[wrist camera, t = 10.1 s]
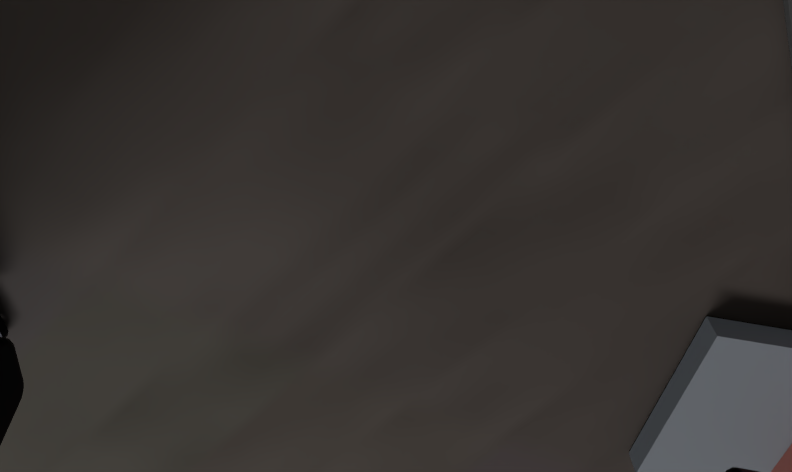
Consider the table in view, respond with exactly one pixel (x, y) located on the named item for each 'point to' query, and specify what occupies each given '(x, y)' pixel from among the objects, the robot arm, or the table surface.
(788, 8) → the tablet
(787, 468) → the book
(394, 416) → the table surface
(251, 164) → the table surface
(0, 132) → the table surface
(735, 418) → the bookstand
